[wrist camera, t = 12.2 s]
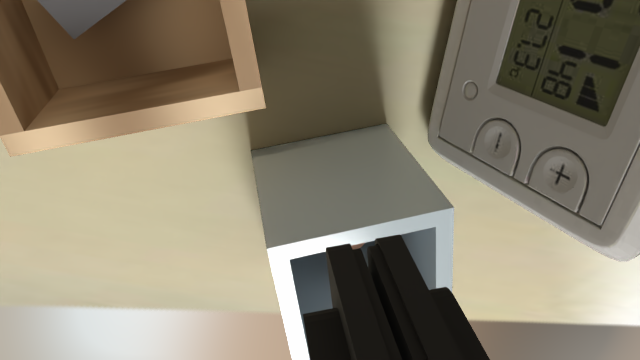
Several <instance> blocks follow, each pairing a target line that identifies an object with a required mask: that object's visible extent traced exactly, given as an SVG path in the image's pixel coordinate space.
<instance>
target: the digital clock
mask: <svg viewBox="0 0 640 360" xmlns="http://www.w3.org/2000/svg"><path fill="white" fill-rule="evenodd" d="M428 142H429V144H430V146H431V147H432V148H433V150H434V151H435V152H436V153H437V154H438V155H439V156H440V157H441V158H443V159H444V160H446V161H447V162H449V163H450V164H452V165H454V166H455V167H457V168H459V169H460V170H462V171H463V172H465V173H467V174H468V175H470V176H472V177H473V178H475V179H477V180H478V181H480V182H482V183H483V184H485V185H487V186H488V187H490V188H492V189H493V190H495V191H497V192H498V193H500V194H502V195H503V196H505V197H506V198H508V199H510V200H511V201H513V202H515V203H516V204H518V205H520V206H521V207H523V208H525V209H526V210H528V211H530V212H531V213H533V214H535V215H536V216H538V217H540V218H541V219H543V220H545V221H546V222H548V223H549V224H551V225H553V226H554V227H556V228H558V229H559V230H561V231H563V232H564V233H566V234H568V235H569V236H571V237H573V238H574V239H576V240H578V241H579V242H581V243H583V244H585V245H586V246H588V247H590V248H592V249H593V250H595V251H597V252H599V253H601V254H603V255H605V256H607V257H609V258H611V259H614V260H617V261H629V260H631V259H633V258H635V257H637V256H638V255H640V0H457V3H456V7H455V12H454V16H453V20H452V25H451V29H450V33H449V38H448V42H447V46H446V51H445V55H444V59H443V64H442V68H441V72H440V77H439V81H438V85H437V90H436V94H435V99H434V103H433V108H432V113H431V118H430V123H429V128H428Z"/></svg>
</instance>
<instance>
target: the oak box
mask: <svg viewBox="0 0 640 360" xmlns="http://www.w3.org/2000/svg"><path fill="white" fill-rule="evenodd" d="M264 108H266V105H265V100H264V95H263V90H262V85H261V79H260V74H259V69H258V64H257V59H256V54H255V48H254V43H253V38H252V33H251V28H250V23H249V17H248V12H247V7H246V2H245V0H126V1H125V2H123V3H122V4H121V5H119V6H118V7H117V8H115V9H114V10H113V11H111V12H110V13H109V14H107V15H106V16H105V17H103V18H102V19H101V20H99V21H98V22H97V23H96V24H94V25H93V26H92V27H90V28H89V29H88V30H86V31H85V32H84V33H82V34H81V35H80V36H78V37H77V38H76V39H73V38H72V37H71V36H70V35H69V34H68V33H67V32H66V30H65V29H64V28H63V27H62V26H61V25H60V24H59V23H58V22H57V21H56V20H55V19H54V18H53V17H52V16H51V14H50V13H49V12H48V11H47V10H46V9H45V8H44V7H43V6H42V5H41V4H40V3H39V2H38V1H37V0H0V138H1V140H2V142H3V144H4V145H5V147H6V149H7V151H8V153H9V155H10V157H11V156H16V155H22V154H27V153H32V152H37V151H43V150H48V149H53V148H58V147H64V146H69V145H74V144H80V143H85V142H90V141H95V140H101V139H106V138H111V137H116V136H122V135H127V134H132V133H137V132H143V131H148V130H153V129H159V128H164V127H169V126H174V125H180V124H185V123H190V122H195V121H201V120H206V119H211V118H216V117H222V116H227V115H232V114H238V113H243V112H248V111H253V110H259V109H264Z"/></svg>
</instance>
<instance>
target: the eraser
mask: <svg viewBox="0 0 640 360" xmlns="http://www.w3.org/2000/svg"><path fill="white" fill-rule="evenodd" d="M37 1H38V2H39V3H40V4H41V5H42V6H43V7H44V8H45V9H46V10H47V11H48V12H49V13H50V14H51V16H52V17H53V18H54V19H55V20H56V21H57V22H58V23H59V24H60V25H61V26H62V27H63V28H64V29H65V30H66V32H67V33H68V34H69V35H70V36H71V37H72V38H73V39H76V38H77V37H78V36H80V35H81V34H82V33H84V32H85V31H86V30H88V29H89V28H90V27H92V26H93V25H94V24H96V23H97V22H98V21H99V20H101V19H102V18H103V17H105V16H106V15H107V14H109V13H110V12H111V11H113V10H114V9H115V8H117V7H118V6H119V5H121V4H122V3H123V2H125V1H126V0H37Z"/></svg>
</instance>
